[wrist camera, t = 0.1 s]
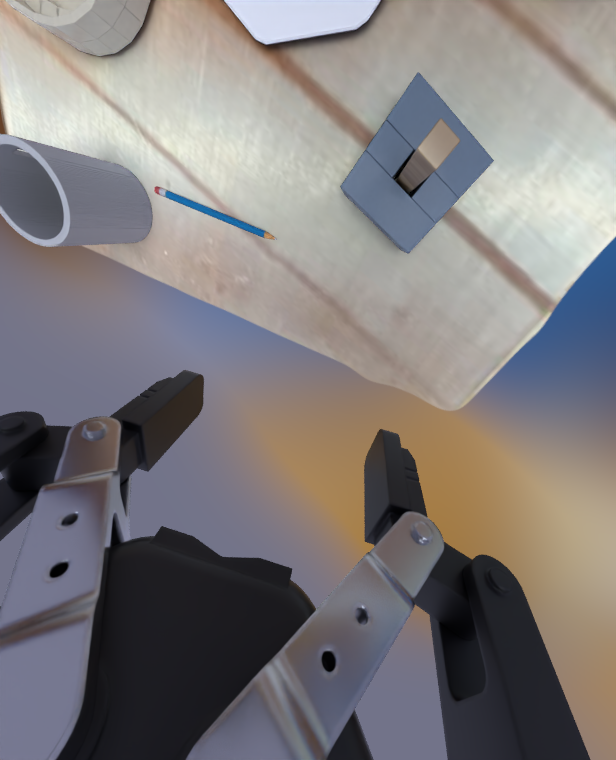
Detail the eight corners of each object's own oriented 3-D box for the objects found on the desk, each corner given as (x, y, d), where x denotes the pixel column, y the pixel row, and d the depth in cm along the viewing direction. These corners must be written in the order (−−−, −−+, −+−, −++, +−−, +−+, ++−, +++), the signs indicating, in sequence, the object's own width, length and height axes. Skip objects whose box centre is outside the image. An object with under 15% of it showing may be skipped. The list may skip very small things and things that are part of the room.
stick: (404, 170, 29) (441, 116, 16) (416, 182, 30) (461, 140, 16) (392, 186, 30) (416, 148, 16) (403, 197, 30) (436, 170, 17)
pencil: (158, 186, 35) (154, 185, 34) (278, 236, 35) (277, 236, 34) (157, 193, 35) (154, 192, 34) (276, 242, 35) (275, 242, 35)
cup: (137, 256, 40) (57, 265, 29) (82, 207, 38) (-24, 198, 27) (162, 203, 35) (80, 192, 25) (102, 144, 33) (-14, 106, 23)
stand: (407, 102, 27) (418, 71, 22) (470, 173, 28) (494, 160, 23) (344, 194, 31) (340, 186, 26) (401, 250, 33) (408, 253, 28)
